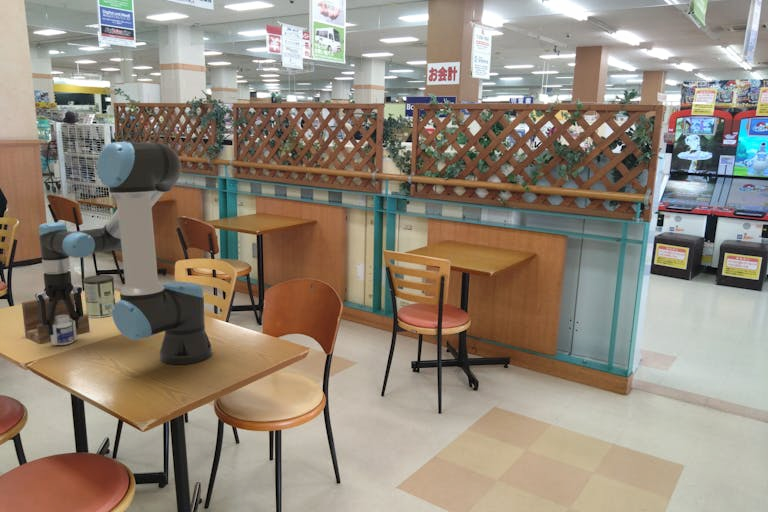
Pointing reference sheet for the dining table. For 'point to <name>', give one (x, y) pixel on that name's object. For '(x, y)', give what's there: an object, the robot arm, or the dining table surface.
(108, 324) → the dining table surface
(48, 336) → the wooden display stand
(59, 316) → the pill bottle
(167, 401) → the dining table surface
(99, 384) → the dining table surface
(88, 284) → the coffee can
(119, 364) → the dining table surface
